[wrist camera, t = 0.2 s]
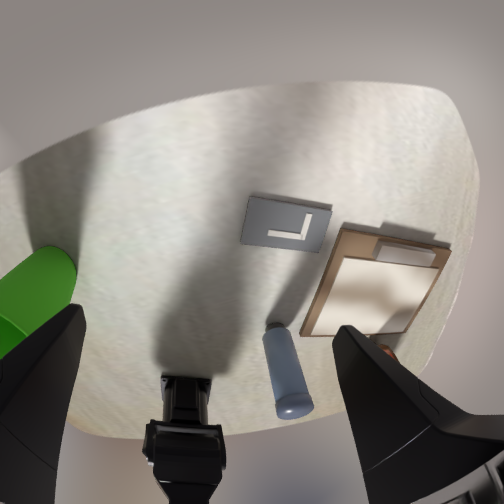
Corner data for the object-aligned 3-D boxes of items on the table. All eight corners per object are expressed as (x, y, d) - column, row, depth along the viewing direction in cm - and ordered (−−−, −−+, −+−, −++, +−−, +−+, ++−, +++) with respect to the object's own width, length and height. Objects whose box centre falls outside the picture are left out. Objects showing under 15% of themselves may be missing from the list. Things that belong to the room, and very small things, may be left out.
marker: (284, 339, 31) (306, 417, 22) (256, 338, 30) (272, 420, 21) (292, 319, 29) (319, 401, 20) (263, 317, 28) (283, 404, 20)
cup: (53, 207, 20) (-20, 283, 10) (113, 283, 24) (78, 379, 15) (9, 253, 21) (-47, 324, 11) (61, 314, 25) (27, 394, 16)
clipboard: (403, 329, 34) (408, 337, 32) (299, 332, 30) (302, 343, 29) (448, 248, 28) (456, 255, 26) (340, 228, 24) (347, 236, 23)
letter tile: (317, 250, 25) (318, 253, 25) (240, 241, 24) (240, 244, 23) (330, 210, 23) (332, 212, 23) (249, 196, 22) (250, 198, 21)
